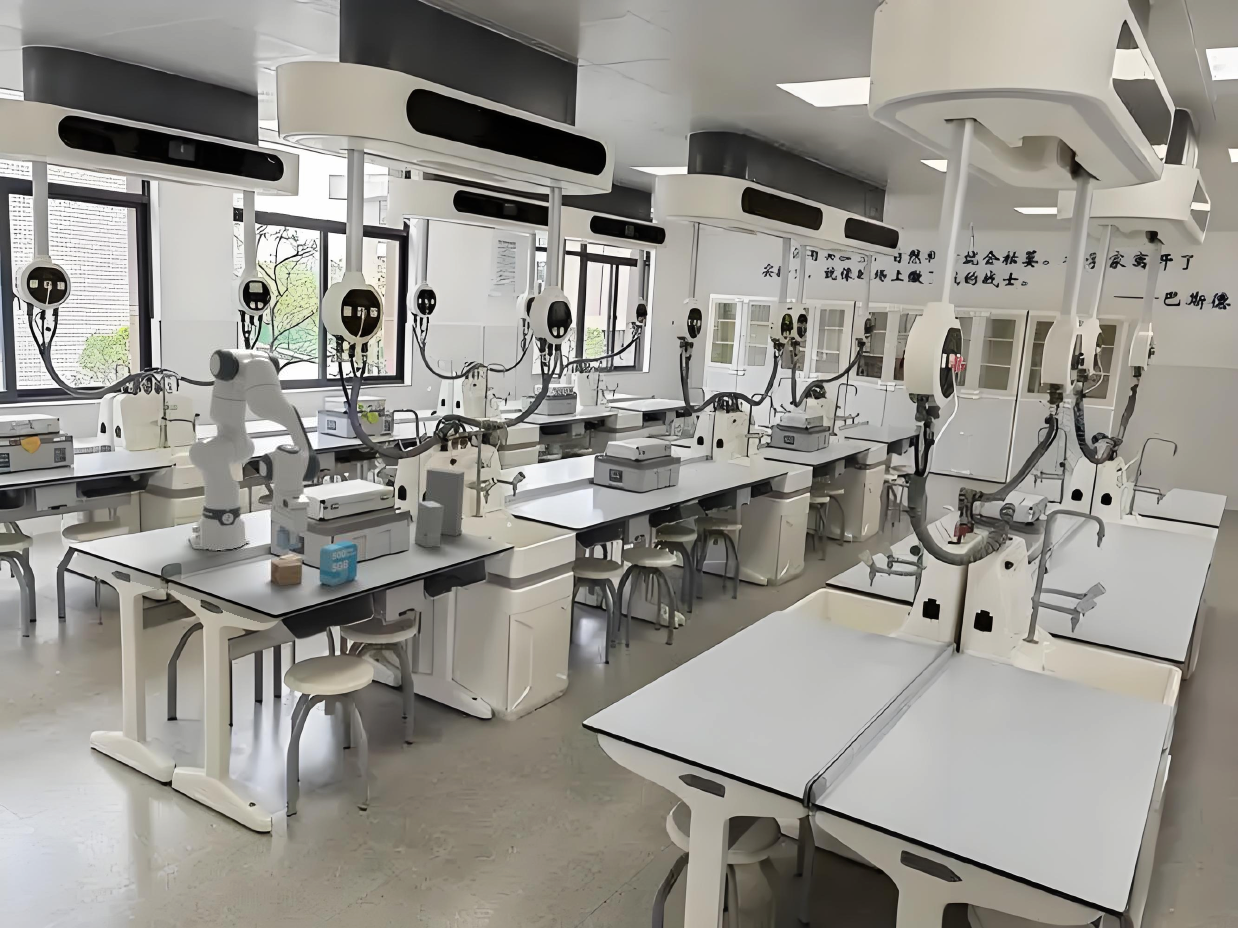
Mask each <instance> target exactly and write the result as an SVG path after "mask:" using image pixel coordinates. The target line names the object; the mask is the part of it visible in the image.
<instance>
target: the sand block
mask: <svg viewBox="0 0 1238 928" xmlns="http://www.w3.org/2000/svg"><path fill="white" fill-rule="evenodd" d="M285 559H295V560H296V561H298V562H299V563H301V564H302V565H303V556H301V555H295V554H292V553H291V554H286V555H283V556H279V557H278V560H285Z"/></svg>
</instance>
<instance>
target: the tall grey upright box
mask: <svg viewBox="0 0 1238 928" xmlns="http://www.w3.org/2000/svg"><path fill="white" fill-rule="evenodd" d="M425 478H426V479H425V480H426V482H425V500H424V502H426V501H433V502H436V503H438V504H440V505H442V506H444V511H443V519H442V528H441V535H448V536H453V537H457V536H458V535H460V534H462V533H463V530H462V520H463V503H464V484H465V471H461V470H454V469H445V468H437V467H431V468H428V469H426V477H425Z"/></svg>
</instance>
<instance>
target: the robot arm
mask: <svg viewBox="0 0 1238 928" xmlns="http://www.w3.org/2000/svg"><path fill="white" fill-rule="evenodd" d="M209 359H210V361H209V369H210V374H211V375H212V376H213V377H214V382H213V387H212V393H211V400H210V409H209V418H210V419H211V420H212V422H213V423H215V425H216V430H217V431H216V433H217V434H216V435H215V436H209V437H204V438H202V439H200V440H198V441H195V442H194V443H193V444H191V446H190V448H189V451H188V458H189V460H190V463H191V464H192V465H193V467H195V468H196V469H197V470H198V471H199V473H200V476H201V478H202V480H203V486H204V505H203V508H202V516H201V518H200V519H199V520H198V521H196V525H193V526H192V529H191V530H192V533H193V534H190V535H188V538H189V539H188V540H189V541H190V542H189V543H190V544H191V547H192V549H194V550H206V549H209V550H208V551H217V550H216V549H232V548H237V547H240V546H242V545H244V544H245V543H247V542H249V543H250V539H248V538H246V526H245V525H246V523H245V520H243V519H242V518H241V512H242V508H241V505H240V496H241V495H240V488H241V487H240V483H239V482H238V481H237V480H236V479H234V477H233V475H232V473H231V467H232V466H238V465H240V464H243V463H244V462H246V461H248V460H250V459H251V458H252V457H253V455H254V454H255V450H256V449H255V448H256V447H255V444H254V441H253V439H252V437H250V436H249V434H248V431H247V427H246V413H247V412H246V411H247V406H248V408H249V410H250V412H252V413H253V414H254V415H255V416H257V417H258V418H261V419H262V420H267V421H270V422H273V423H276V424H278V425H280V426H282V427H283V428H285V429H286V430H287V431H288V434H289V436H290V438H291V441H292V443H293V444H280V445H277V446H276V448H275V450H273V451H269V452H266V453H264V454H263V455H262V456H261V457H260V459H259V460H258V475H259V477H261V478H262V480H264V481H265V482H269V483H274V484H273V491H272V492H273V493H272V494H273V496H272V497H273V498H272V500H271V502H270V503H271V504H270V521H272V522H274V523H275V524H277V525H278V530H285V529H288V530H290V537H289V538H288V540H289V541H288V542H289V543H290V544H295V543H296V537H297V534H298V533H299V534H304V533H306V532H307V530H308V520H309V512H308V511H309V510H308V509H307V508H310V501H309V499H308V498H307V496H306V494H305V492H304V489H305V486H304V483H303V482H305V483H307V482H312V481H314V479H316V478H317V476H318V475H319V474H320V471H321V463H320V459H319V456H318V455H317V453H316V451H315V449H314V447H313V445H312V443H311V441H310V438H309V436H308V435H309V434H308V432H307V430H306V427H305V425H304V423H303V420H302V418H301V415H300V413H299V411H298V409H297V407H296V406H295V405H293V404H291V403H290V402H289V401H288V399H287V398H286V396H285V395H284V393H283V390H282V386H281V381H280V378H279V376H280V372H281V364H280V360H279V358H278V356H277V355H276V354H274V353H273V352H272V353H271V352H269V351H262V350H261V351H259V350H255V349H247V348H246V349H235V348H233V349H232V348H231V349H228V348H221V349H217V350H215V351H214V352H213V353H212V354H211V356H210V358H209ZM245 545H246V544H245ZM245 545H244V546H245ZM211 549H212V550H211ZM213 549H214V550H213ZM237 549H238V548H237Z"/></svg>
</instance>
